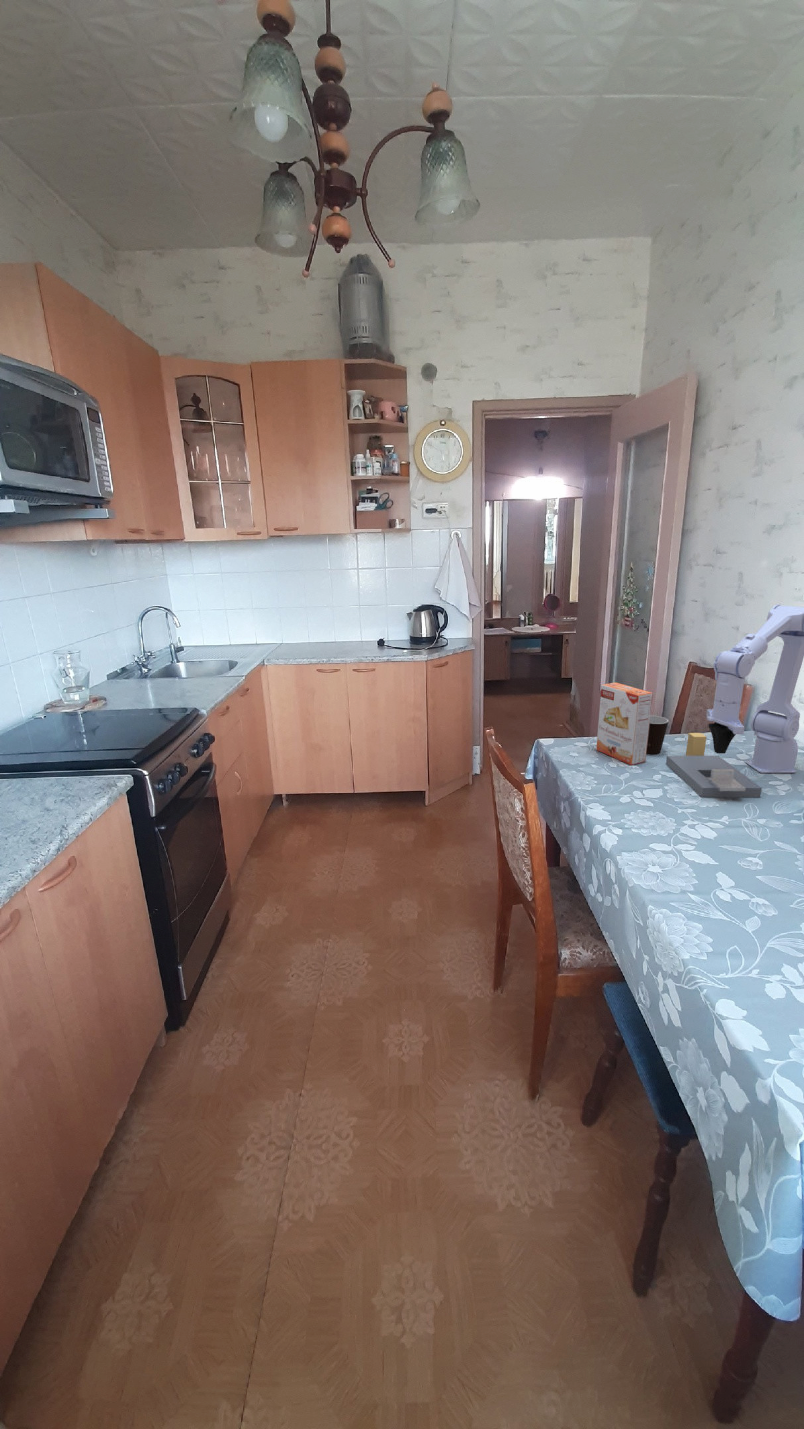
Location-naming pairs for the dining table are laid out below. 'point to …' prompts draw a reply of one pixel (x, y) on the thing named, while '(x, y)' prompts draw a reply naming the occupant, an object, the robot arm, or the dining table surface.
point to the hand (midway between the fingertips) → (719, 752)
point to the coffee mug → (656, 734)
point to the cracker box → (624, 722)
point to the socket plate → (709, 775)
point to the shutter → (725, 780)
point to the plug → (696, 744)
